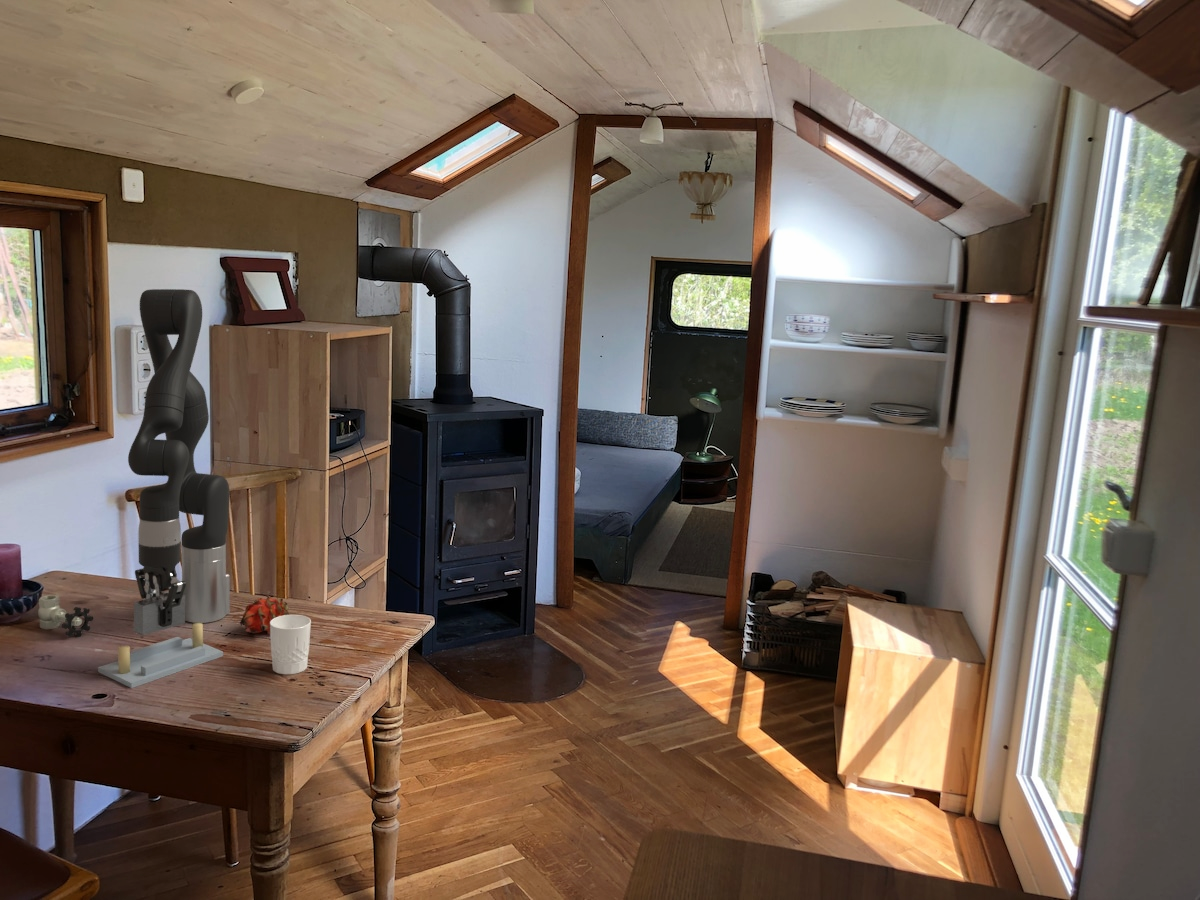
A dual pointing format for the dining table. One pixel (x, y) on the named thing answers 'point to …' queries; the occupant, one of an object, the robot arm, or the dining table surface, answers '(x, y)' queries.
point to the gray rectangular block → (155, 615)
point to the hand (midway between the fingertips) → (160, 623)
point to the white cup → (290, 643)
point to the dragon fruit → (263, 614)
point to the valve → (62, 616)
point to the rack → (160, 659)
